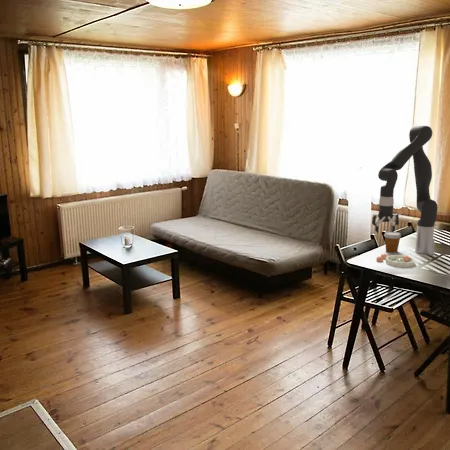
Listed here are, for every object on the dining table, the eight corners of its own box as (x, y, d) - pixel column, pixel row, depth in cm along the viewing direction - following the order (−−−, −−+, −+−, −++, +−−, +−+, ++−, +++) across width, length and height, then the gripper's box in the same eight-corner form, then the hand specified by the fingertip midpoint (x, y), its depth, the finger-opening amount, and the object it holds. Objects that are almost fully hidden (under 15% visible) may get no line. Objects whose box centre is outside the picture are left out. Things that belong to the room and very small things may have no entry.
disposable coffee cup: (381, 253, 282) (383, 234, 279) (384, 249, 290) (385, 230, 287) (398, 255, 277) (399, 236, 275) (400, 251, 286) (402, 232, 283)
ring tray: (408, 260, 268) (408, 254, 268) (418, 268, 254) (418, 262, 253) (382, 260, 269) (382, 255, 268) (390, 268, 254) (391, 263, 254)
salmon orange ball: (407, 260, 264) (408, 254, 263) (410, 262, 261) (410, 256, 260) (401, 260, 264) (401, 254, 263) (403, 262, 261) (404, 256, 260)
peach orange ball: (381, 261, 267) (382, 255, 266) (383, 263, 264) (384, 257, 263) (375, 261, 267) (375, 255, 266) (377, 263, 264) (377, 257, 263)
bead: (385, 258, 272) (386, 252, 271) (387, 260, 268) (388, 254, 268) (379, 258, 272) (380, 252, 271) (381, 260, 269) (382, 254, 268)
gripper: (397, 202, 267) (395, 230, 270) (371, 203, 267) (370, 230, 271) (401, 205, 259) (399, 233, 263) (375, 205, 260) (373, 234, 264)
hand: (384, 232), depth 267 cm, fingers open, 8 cm apart
